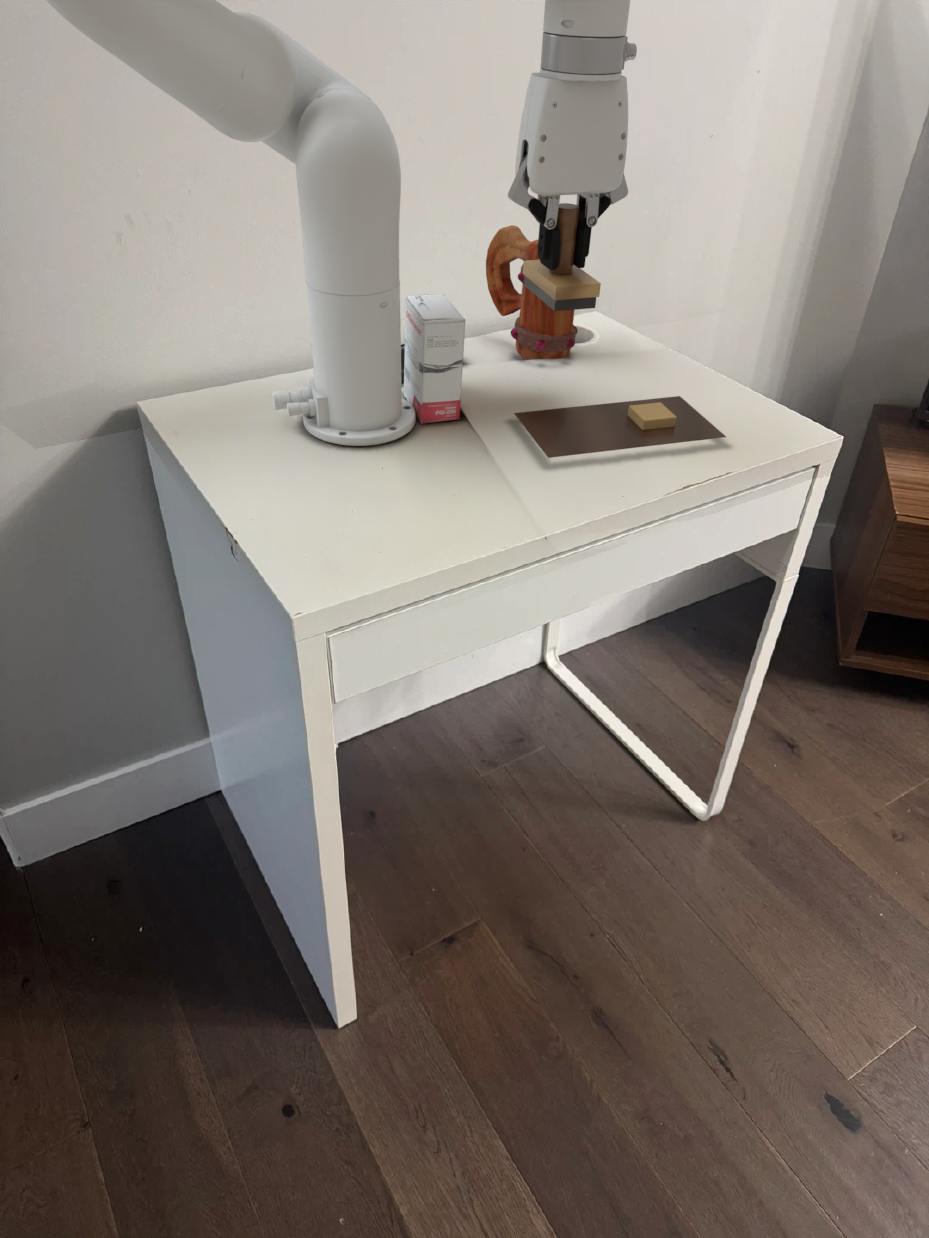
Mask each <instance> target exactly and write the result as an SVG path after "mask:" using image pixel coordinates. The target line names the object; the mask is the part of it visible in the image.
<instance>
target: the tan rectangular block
mask: <svg viewBox="0 0 929 1238" xmlns="http://www.w3.org/2000/svg"><path fill="white" fill-rule="evenodd" d="M628 416H629V417H630V418H631V419H632V420H633V421H634V422H635V423H636V424H637V425H638V426H639V427H640V428H641V429H642V430H650V429H659V428H668V427H675V423H676V418H677V417H676V416H675V415H674V414H673V413H672V412H671V411H669V410H668V409H667V408H666V407H665V406H664V405H663V404H662V403H661V402H659V403H650V404H640V405H630V406H629V409H628Z"/></svg>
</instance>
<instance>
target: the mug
mask: <svg viewBox="0 0 929 1238" xmlns="http://www.w3.org/2000/svg"><path fill="white" fill-rule="evenodd" d="M537 251H538V239H535V240H533V241H531V240H529V239H528V238H527V237H526V236H525V235H524V233H523V232H522V230H521V228H520V227H519V226H518V225H508V226H504V227H502V228H499V229H498V231H496V232H495V234H494V236H493V237H492V239H491V241H490V242H489V246H488V248H487V251H486V252H487V253H486V258H485V278H486V284H487V289H488V292H489V295H490V298H491V300H492V303H493V304H494V306H495V308H496V310H497V312H498V313H499V314H500V316H501V317H505V316H510V315H512V314H514V313H517V312H518V311H519V315H518V317H517V318H516V320H515V322H514V326H513V328H512V329H511V330H510V335H511V337H512V338H513V340H515V342H514V343H515V344H514V346H515V350H516V352H517V354H518V355H520V356H521V357H522V358H523V359H524V360H526V361H533V360H544V359H561V358H568V357H569V356H570V353H571V349H572V348H574V347H575V345H576V336H577V334H578V332H579V331H578V330H579V329H578V327H577V326H575V325H574V319H575V310H565V311H554V310H553V309H551V308H550V307H549V306H548V305H547V304H546V303H544V302H543V301H542V300H541V299H540V298H539V297H537V296H536V295H535V294H534V293H533V292H532V291H530V290H529V289H528V288H527V287H526V286H525V285H524V284H525V275H524V274H523V264H524V261H527V260H540V259H539V258H538V253H537ZM517 259H518V260H522V261H523V262H522V265H521V266H520V272H519V273H518V274H517V279H518V280H519V281H520V282H521V284H522V287H521V293H519V292H518V290H516V288H515V286H514V283H513V281H512V278H511V262H512V263H513V262H514V261H515V260H517Z"/></svg>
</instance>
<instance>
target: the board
mask: <svg viewBox="0 0 929 1238" xmlns="http://www.w3.org/2000/svg"><path fill="white" fill-rule="evenodd" d="M659 402H661V403H662V404H663V405H664V406H665V407H666V408H667V409H668V410H669V411H671V412H672V413H673V414H674V415H675V416H676V417H677V418H676V423H675V427H668V428H659V429H650V430H642V429H641V428H640V427H639V426H638V425H637V424H636V423H635V422H634V421H633V420H632V419H631V418H630V417H629V416H628V409H629V406H630V405H640V404H650V403H659ZM514 415H515V417H516V418H517V419H518V421H519V422H520V423H521V424H522V426H523V428H525V430H526V431H527V432H528V434H529V435H530V436H531V438H532V439H533V440H534V441H535V443H536V444H537V445H538V447H539V448H540V449H541V451H542V452H543V454H544V455H545V456H546V457H547V458H548V459H550V458H560V457H566V456H575V455H576V456H577V455H584V454H593V453H601V452H609V451H620V450H628V449H636V448H637V449H638V448H644V447H653V446H662V445H671V444H678V443H679V444H680V443H688V442H697V441H705V440H711V439H721V438H727V436H726V435H725V434H724V433H723V432H722V431H721V430H719V429H718V428H717V427H716V426H715V425H714V424H713V423H711V422H710V421H709V420H708V419H707V418H706V417H704V416H703V415H702V414H701V413H700V412H699V411H697V410H696V408H694V407H693V406H692V405H691V404H690V403H688V402H687V401H686V400H685V399H684V398H683V397H681V396H680V395H677V396H667V397H658V398H657V397H656V398H648V399H637V400H628V401H617V402H609V403H600V404H599V403H597V404H589V405H580V406H567V407H559V408H551V409H550V408H549V409H541V410H530V411H521V412H514Z"/></svg>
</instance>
